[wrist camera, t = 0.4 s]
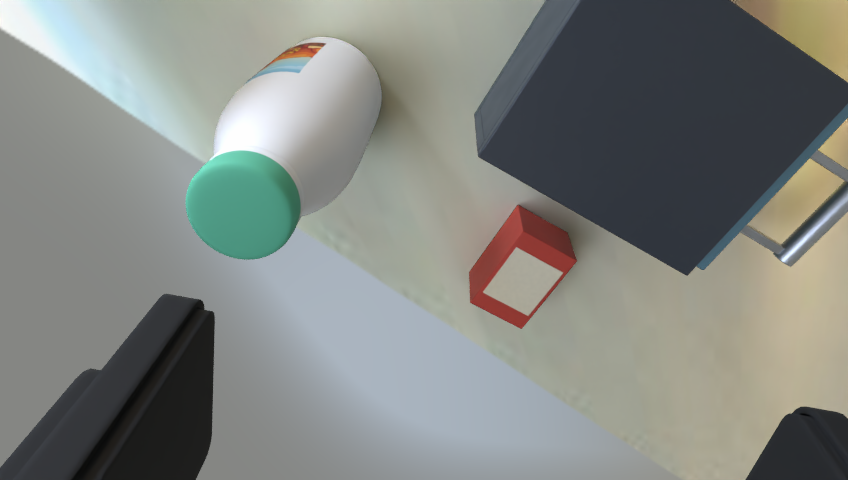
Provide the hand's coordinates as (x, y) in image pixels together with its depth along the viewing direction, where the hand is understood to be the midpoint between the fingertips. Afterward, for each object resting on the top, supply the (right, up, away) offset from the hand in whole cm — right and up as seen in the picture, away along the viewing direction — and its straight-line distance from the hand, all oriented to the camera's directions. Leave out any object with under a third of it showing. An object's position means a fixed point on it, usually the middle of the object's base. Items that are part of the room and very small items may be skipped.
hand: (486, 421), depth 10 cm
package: (+6, +2, +38) cm, 38 cm away
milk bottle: (-8, +13, +33) cm, 36 cm away
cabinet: (+13, +13, +31) cm, 36 cm away
